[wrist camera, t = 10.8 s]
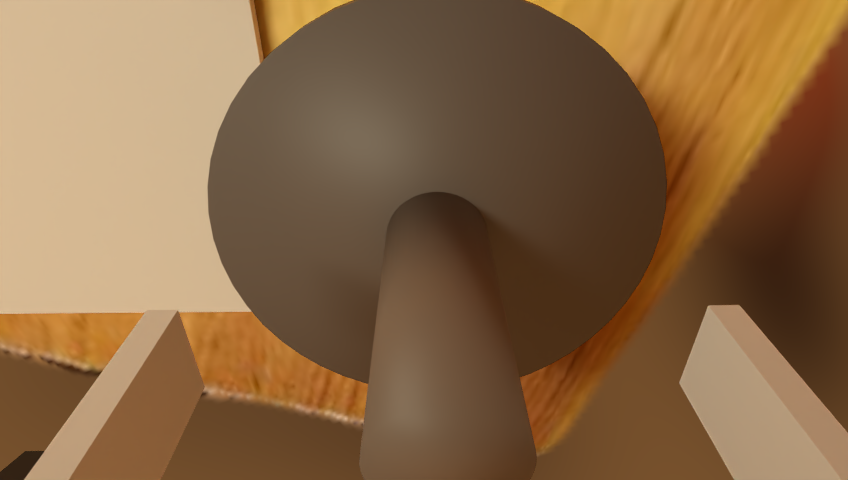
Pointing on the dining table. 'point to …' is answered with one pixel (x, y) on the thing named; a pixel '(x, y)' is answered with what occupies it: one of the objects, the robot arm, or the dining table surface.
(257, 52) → the mat
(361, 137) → the lid
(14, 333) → the dining table surface
